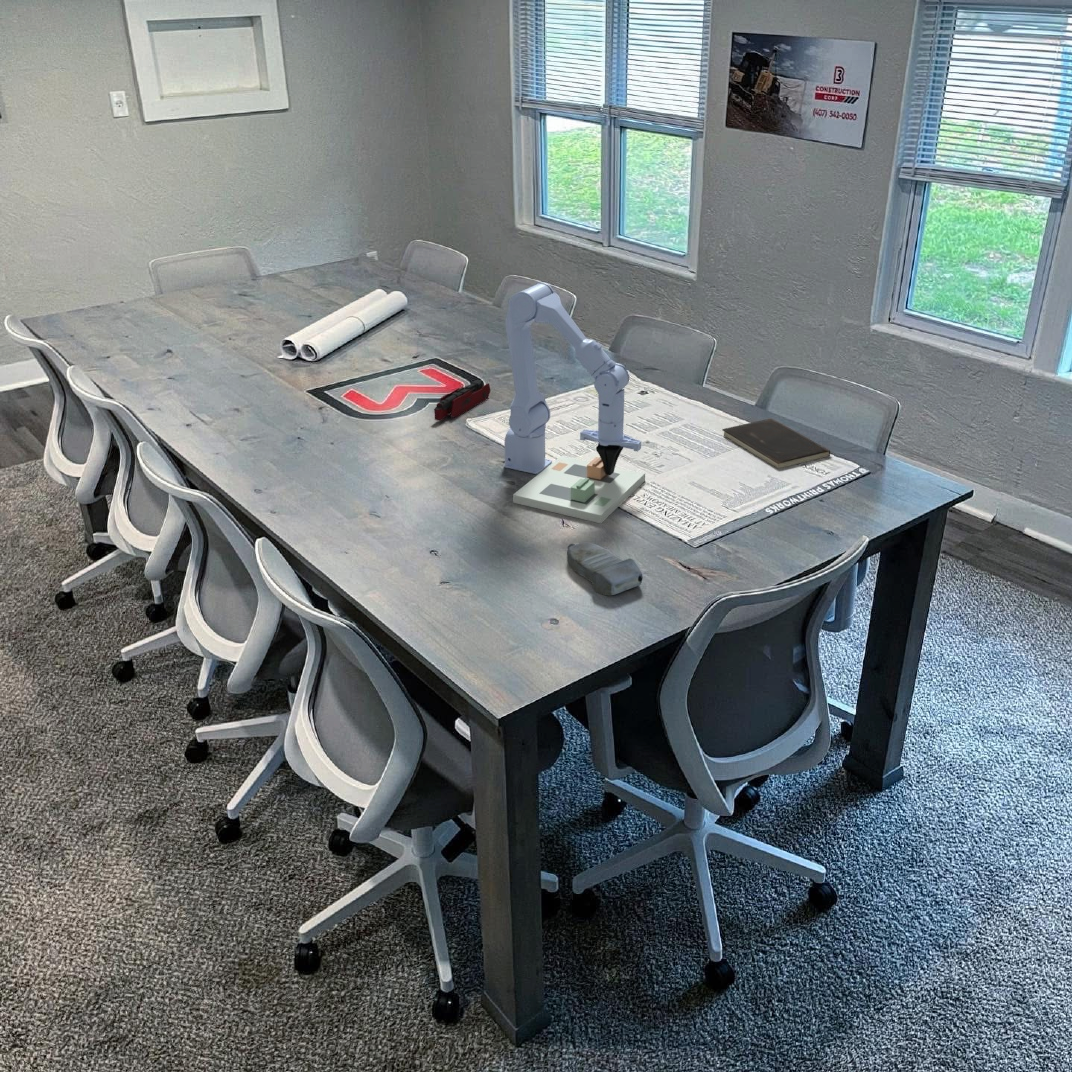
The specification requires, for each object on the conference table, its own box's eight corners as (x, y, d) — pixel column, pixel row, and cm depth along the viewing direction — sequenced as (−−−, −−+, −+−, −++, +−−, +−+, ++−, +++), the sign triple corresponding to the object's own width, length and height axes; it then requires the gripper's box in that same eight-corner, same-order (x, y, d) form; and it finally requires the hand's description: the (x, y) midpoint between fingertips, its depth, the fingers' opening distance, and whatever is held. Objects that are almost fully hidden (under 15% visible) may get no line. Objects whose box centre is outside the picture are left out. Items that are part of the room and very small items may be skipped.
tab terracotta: (586, 476, 245) (586, 462, 243) (596, 468, 249) (596, 454, 247) (600, 479, 244) (600, 465, 242) (609, 471, 248) (609, 457, 246)
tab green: (570, 499, 235) (570, 484, 233) (580, 490, 239) (580, 476, 237) (584, 502, 234) (584, 487, 232) (594, 493, 238) (594, 479, 236)
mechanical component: (444, 425, 280) (443, 406, 277) (430, 422, 282) (429, 402, 279) (491, 397, 297) (490, 378, 294) (477, 394, 299) (477, 375, 296)
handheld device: (587, 546, 221) (588, 527, 219) (647, 588, 207) (648, 567, 204) (549, 559, 217) (549, 540, 214) (608, 603, 202) (609, 582, 200)
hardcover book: (777, 471, 253) (778, 462, 252) (721, 437, 271) (722, 429, 270) (830, 458, 259) (831, 449, 258) (772, 425, 277) (773, 417, 276)
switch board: (513, 502, 239) (513, 494, 238) (562, 462, 257) (562, 455, 256) (600, 523, 230) (601, 515, 229) (644, 480, 248) (645, 472, 247)
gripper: (574, 419, 238) (574, 473, 245) (633, 430, 232) (631, 486, 238) (588, 408, 243) (587, 461, 250) (645, 419, 237) (643, 474, 244)
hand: (609, 472), depth 245 cm, fingers closed
